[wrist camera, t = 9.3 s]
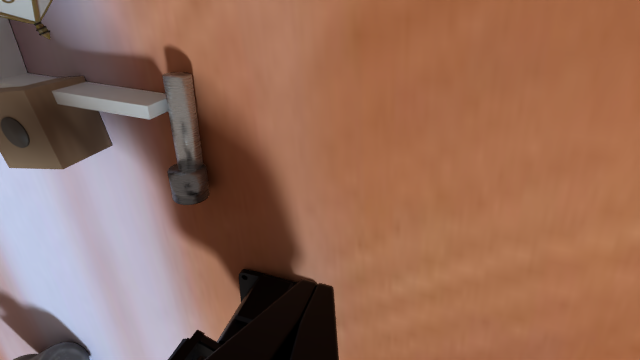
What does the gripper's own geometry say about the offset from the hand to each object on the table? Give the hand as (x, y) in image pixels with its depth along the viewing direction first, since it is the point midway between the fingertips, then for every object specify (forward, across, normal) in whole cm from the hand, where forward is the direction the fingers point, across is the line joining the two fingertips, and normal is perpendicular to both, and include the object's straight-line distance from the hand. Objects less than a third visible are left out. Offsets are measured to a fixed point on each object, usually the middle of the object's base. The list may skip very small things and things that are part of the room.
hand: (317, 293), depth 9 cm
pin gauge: (+12, +12, +2) cm, 17 cm away
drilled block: (+12, +22, +2) cm, 25 cm away
